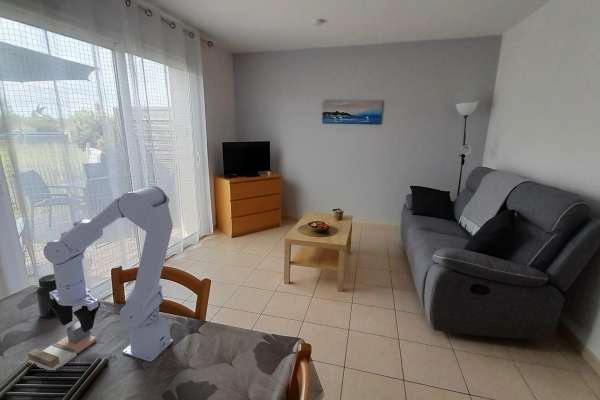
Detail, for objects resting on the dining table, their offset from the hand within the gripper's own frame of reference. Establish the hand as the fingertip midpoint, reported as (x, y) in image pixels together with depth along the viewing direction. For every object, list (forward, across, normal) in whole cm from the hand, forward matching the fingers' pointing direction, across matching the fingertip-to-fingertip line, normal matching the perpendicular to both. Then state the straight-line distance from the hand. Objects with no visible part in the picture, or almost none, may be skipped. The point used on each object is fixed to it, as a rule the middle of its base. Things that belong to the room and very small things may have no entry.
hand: (77, 326), depth 74 cm
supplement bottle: (+5, +20, -6) cm, 22 cm away
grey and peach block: (+5, 0, +1) cm, 5 cm away
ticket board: (+5, 0, +6) cm, 8 cm away
